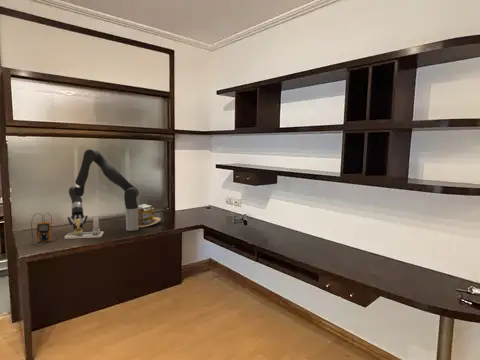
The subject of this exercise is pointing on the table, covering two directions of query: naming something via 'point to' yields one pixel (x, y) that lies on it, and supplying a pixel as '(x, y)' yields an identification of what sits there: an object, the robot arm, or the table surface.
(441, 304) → the table surface
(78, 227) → the brass leg
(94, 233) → the white stand
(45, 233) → the multimeter
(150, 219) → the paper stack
